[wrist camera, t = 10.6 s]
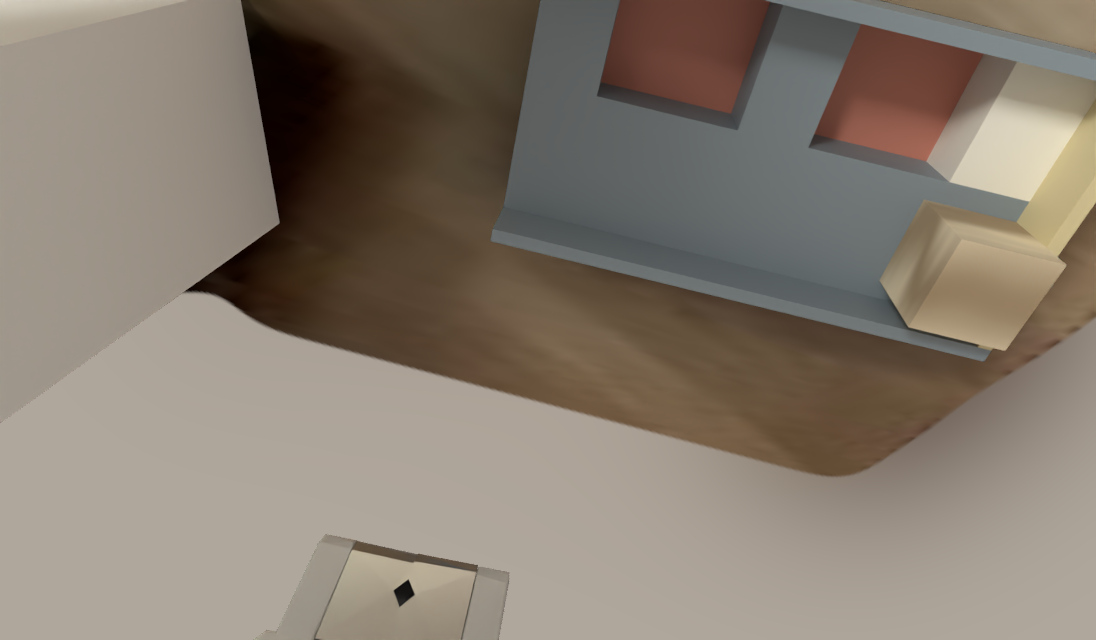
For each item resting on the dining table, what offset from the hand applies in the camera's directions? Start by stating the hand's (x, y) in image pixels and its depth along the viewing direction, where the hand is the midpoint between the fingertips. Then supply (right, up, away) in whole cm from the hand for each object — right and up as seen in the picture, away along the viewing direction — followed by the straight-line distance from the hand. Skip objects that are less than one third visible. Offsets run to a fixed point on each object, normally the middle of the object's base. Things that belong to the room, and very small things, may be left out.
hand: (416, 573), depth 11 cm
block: (+20, +7, +18) cm, 28 cm away
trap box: (+12, +13, +19) cm, 26 cm away
